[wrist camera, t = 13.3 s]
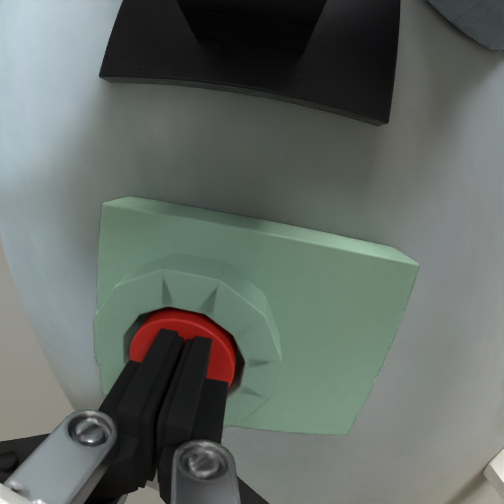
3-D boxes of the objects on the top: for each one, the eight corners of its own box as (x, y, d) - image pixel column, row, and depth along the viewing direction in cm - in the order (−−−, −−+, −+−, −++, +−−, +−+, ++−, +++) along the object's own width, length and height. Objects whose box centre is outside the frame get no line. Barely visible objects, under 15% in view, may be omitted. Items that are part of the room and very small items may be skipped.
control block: (120, 364, 15) (87, 418, 11) (128, 195, 13) (75, 209, 9) (337, 402, 16) (355, 462, 11) (393, 247, 13) (444, 280, 9)
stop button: (143, 366, 12) (129, 392, 10) (146, 287, 11) (129, 307, 9) (229, 385, 12) (225, 414, 10) (245, 307, 11) (243, 332, 9)
